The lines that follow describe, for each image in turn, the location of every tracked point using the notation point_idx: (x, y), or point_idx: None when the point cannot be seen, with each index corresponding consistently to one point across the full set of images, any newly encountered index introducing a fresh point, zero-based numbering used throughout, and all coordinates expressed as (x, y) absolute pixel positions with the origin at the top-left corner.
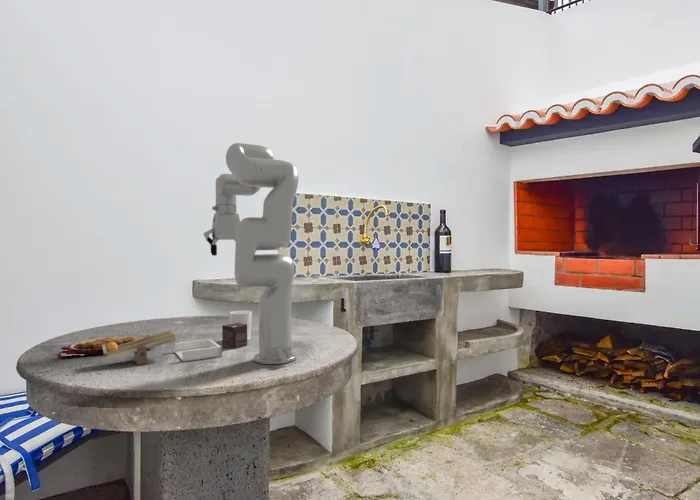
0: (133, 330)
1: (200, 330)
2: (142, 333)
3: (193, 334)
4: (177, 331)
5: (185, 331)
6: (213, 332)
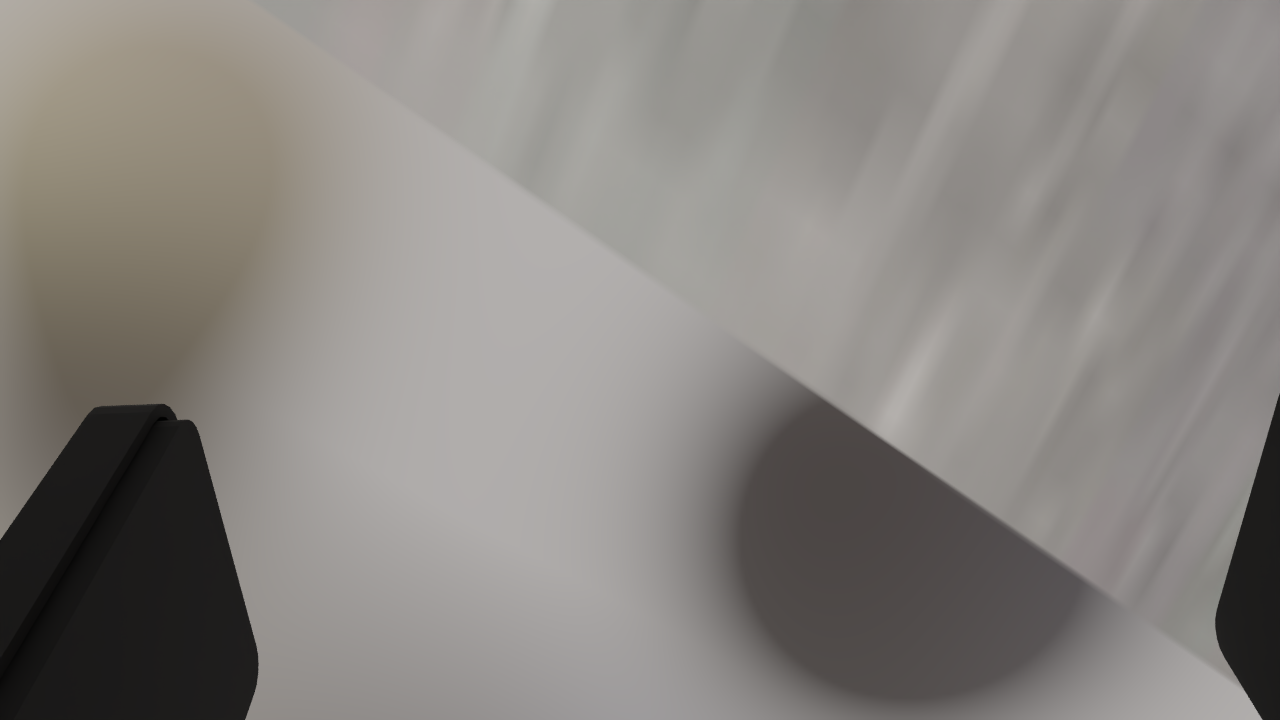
0: None
1: (785, 329)
2: None
3: (933, 172)
4: (981, 408)
5: (923, 366)
6: (720, 148)
